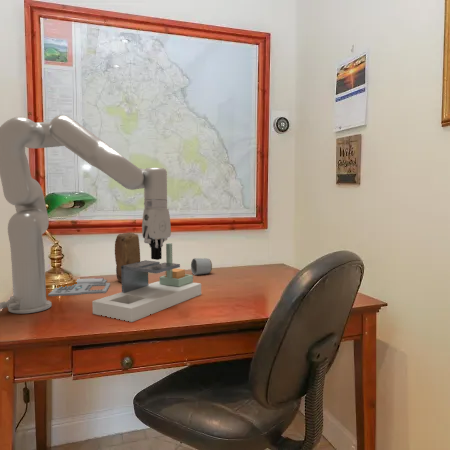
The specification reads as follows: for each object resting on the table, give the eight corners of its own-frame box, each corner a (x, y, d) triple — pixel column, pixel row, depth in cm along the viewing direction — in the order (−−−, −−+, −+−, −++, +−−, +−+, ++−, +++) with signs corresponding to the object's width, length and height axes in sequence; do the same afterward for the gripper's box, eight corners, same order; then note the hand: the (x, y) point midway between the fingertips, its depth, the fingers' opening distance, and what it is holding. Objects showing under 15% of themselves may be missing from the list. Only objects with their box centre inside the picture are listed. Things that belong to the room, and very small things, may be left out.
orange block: (176, 285, 145) (176, 271, 145) (165, 284, 148) (165, 270, 147) (185, 283, 149) (185, 269, 149) (174, 281, 152) (174, 268, 152)
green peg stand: (178, 286, 143) (177, 244, 142) (158, 284, 147) (158, 243, 146) (193, 281, 151) (192, 241, 149) (174, 279, 155) (173, 240, 154)
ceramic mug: (213, 274, 183) (213, 258, 183) (197, 276, 180) (196, 259, 179) (203, 271, 192) (203, 255, 192) (188, 272, 189) (187, 256, 188)
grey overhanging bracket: (157, 298, 128) (156, 270, 128) (121, 292, 136) (121, 265, 135) (180, 290, 139) (179, 264, 138) (146, 285, 146) (145, 260, 145)
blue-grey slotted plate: (62, 277, 170) (112, 275, 173) (63, 283, 170) (112, 281, 173) (47, 290, 147) (105, 288, 150) (48, 297, 147) (105, 295, 150)
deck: (131, 322, 118) (131, 308, 118) (92, 313, 126) (92, 301, 126) (201, 294, 149) (201, 283, 149) (166, 289, 157) (166, 278, 157)
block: (142, 282, 168) (141, 234, 167) (125, 285, 163) (124, 235, 162) (129, 278, 177) (128, 231, 175) (113, 280, 172) (111, 233, 170)
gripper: (149, 205, 129) (150, 263, 131) (178, 204, 142) (178, 257, 144) (131, 205, 133) (132, 261, 135) (161, 204, 146) (161, 255, 147)
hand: (156, 259), depth 139 cm, fingers closed
